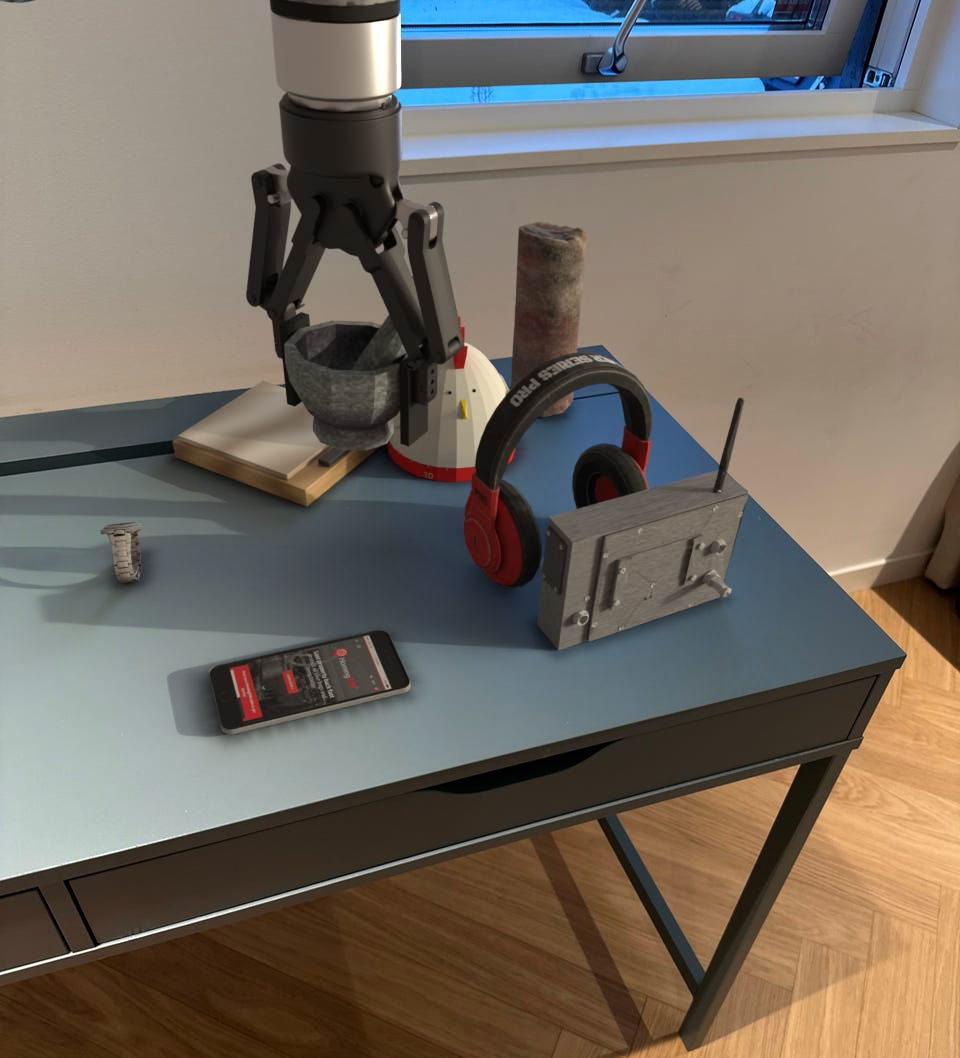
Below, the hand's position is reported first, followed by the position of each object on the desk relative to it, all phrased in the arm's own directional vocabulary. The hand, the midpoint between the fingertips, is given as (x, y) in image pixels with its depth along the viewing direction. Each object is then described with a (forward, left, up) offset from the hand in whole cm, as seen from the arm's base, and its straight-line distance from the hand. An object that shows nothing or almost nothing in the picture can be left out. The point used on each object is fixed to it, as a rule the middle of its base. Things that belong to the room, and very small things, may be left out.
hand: (356, 417), depth 73 cm
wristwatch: (-19, -9, -17) cm, 28 cm away
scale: (-20, +15, -17) cm, 31 cm away
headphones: (+13, +13, -17) cm, 25 cm away
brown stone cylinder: (-1, +39, -17) cm, 43 cm away
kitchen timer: (-5, +25, -17) cm, 31 cm away
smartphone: (+3, -12, -17) cm, 21 cm away
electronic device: (+23, +9, -17) cm, 30 cm away
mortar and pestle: (+1, 0, -1) cm, 1 cm away
